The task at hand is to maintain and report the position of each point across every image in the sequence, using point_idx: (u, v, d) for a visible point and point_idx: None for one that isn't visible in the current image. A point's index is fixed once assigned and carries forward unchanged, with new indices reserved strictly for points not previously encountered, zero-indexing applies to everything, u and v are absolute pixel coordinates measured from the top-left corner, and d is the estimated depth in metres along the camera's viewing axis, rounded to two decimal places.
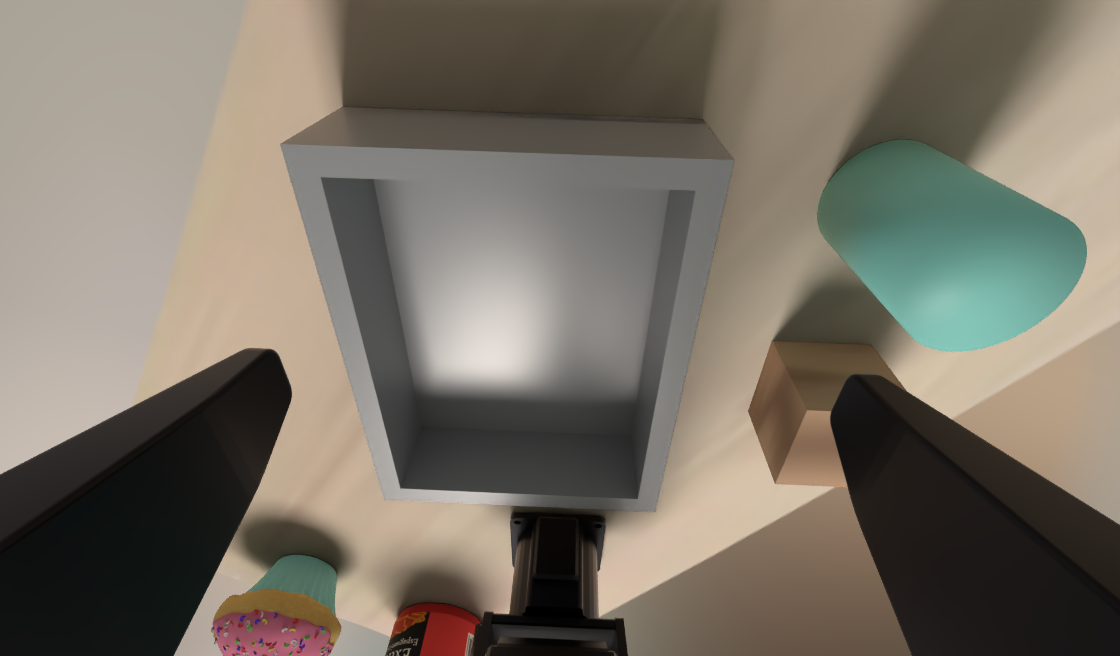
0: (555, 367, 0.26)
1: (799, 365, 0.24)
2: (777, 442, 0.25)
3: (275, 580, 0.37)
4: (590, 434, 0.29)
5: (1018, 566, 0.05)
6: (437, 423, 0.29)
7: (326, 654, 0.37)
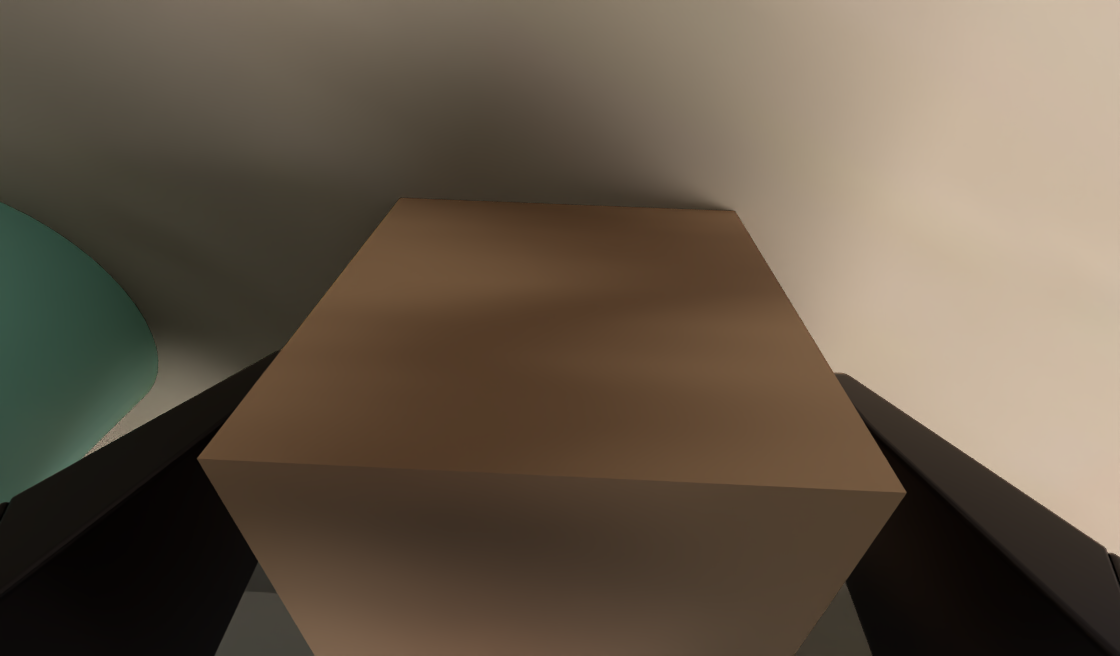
0: None
1: None
2: None
3: None
4: None
5: (966, 564, 0.05)
6: None
7: None
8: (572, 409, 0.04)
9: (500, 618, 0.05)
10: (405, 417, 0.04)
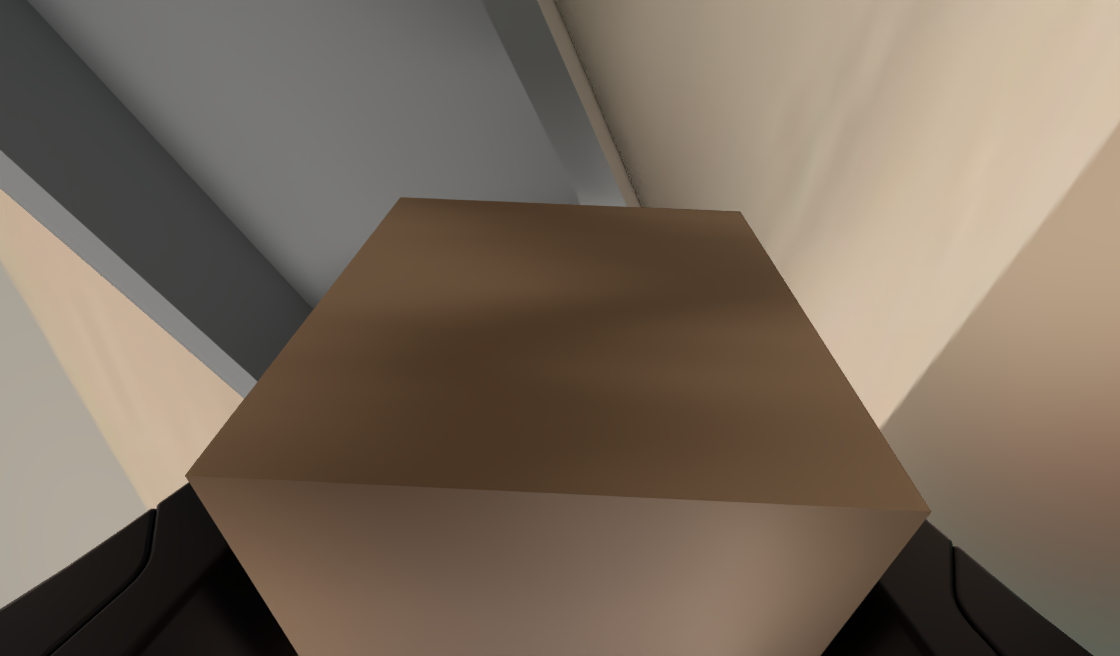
0: (453, 194, 0.17)
1: None
2: None
3: None
4: None
5: None
6: None
7: None
8: (579, 423, 0.04)
9: (503, 636, 0.05)
10: (405, 430, 0.04)
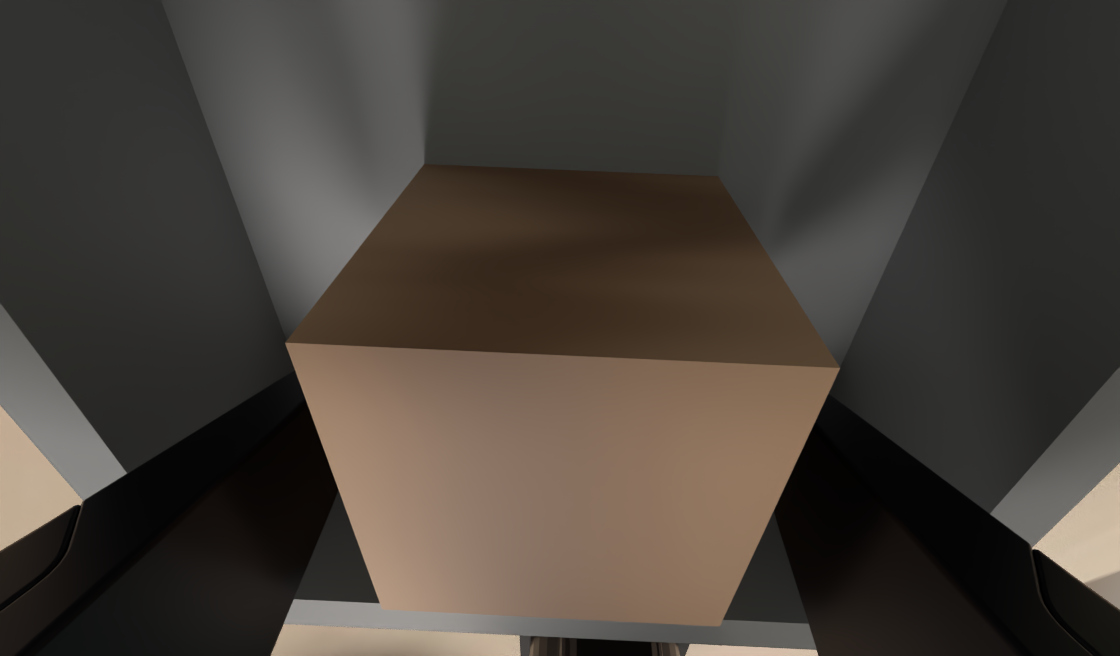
0: None
1: None
2: None
3: None
4: None
5: (896, 560, 0.05)
6: None
7: None
8: (578, 315, 0.05)
9: (518, 499, 0.06)
10: (445, 318, 0.05)
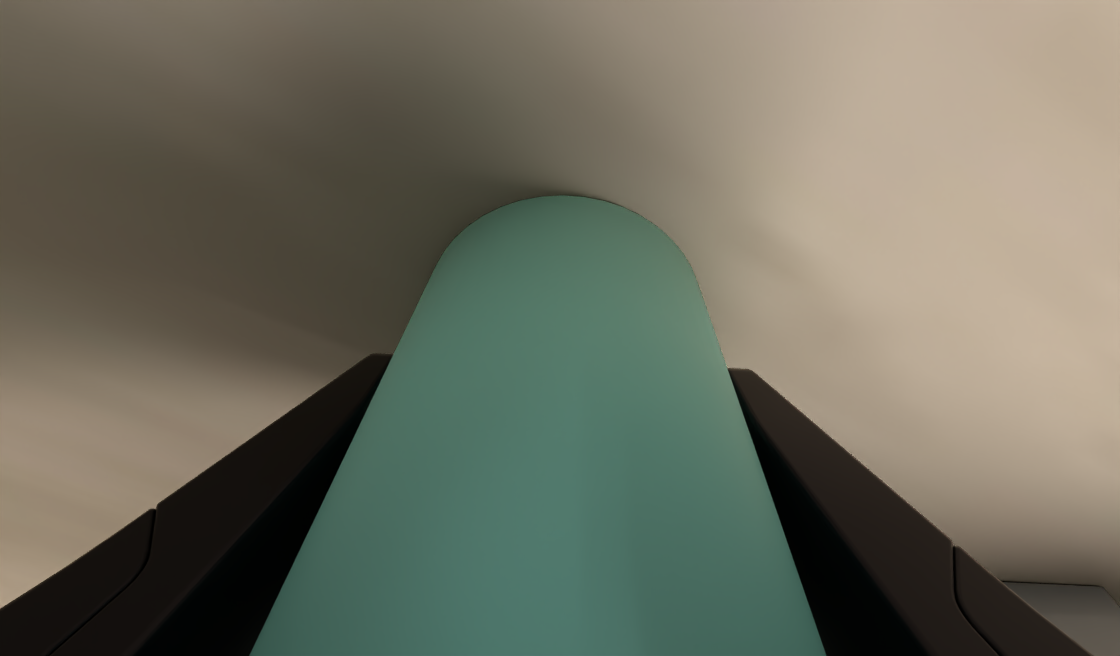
0: None
1: None
2: None
3: None
4: None
5: (822, 557, 0.05)
6: None
7: None
8: None
9: None
10: None
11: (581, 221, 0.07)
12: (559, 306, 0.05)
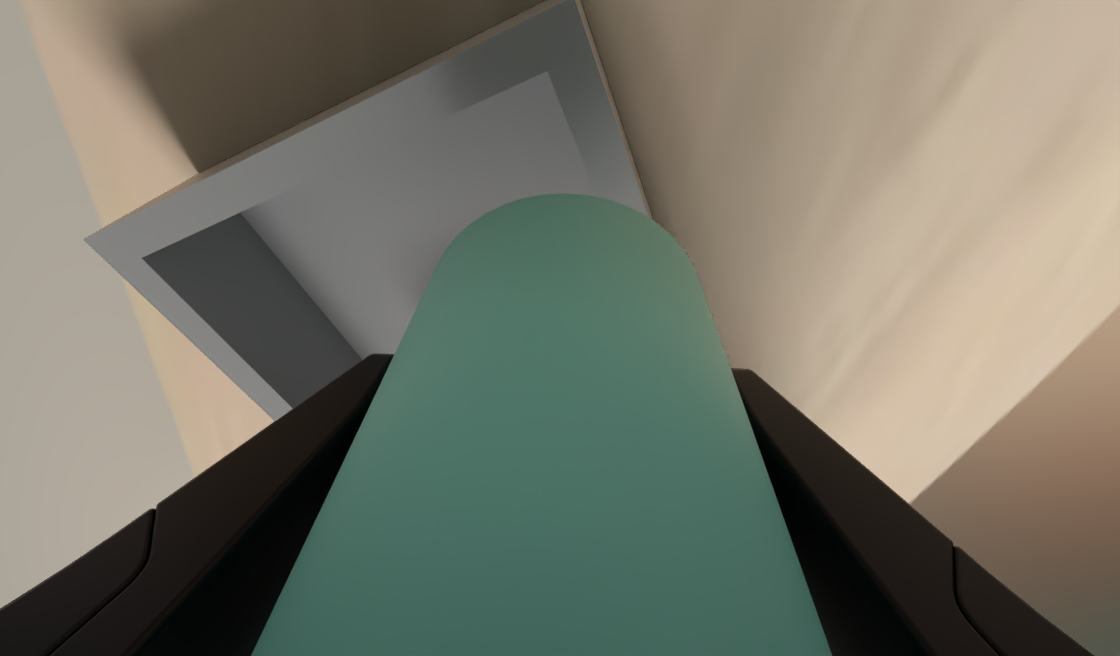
0: None
1: None
2: None
3: None
4: None
5: (822, 557, 0.05)
6: None
7: None
8: None
9: None
10: None
11: (584, 219, 0.07)
12: (562, 303, 0.05)
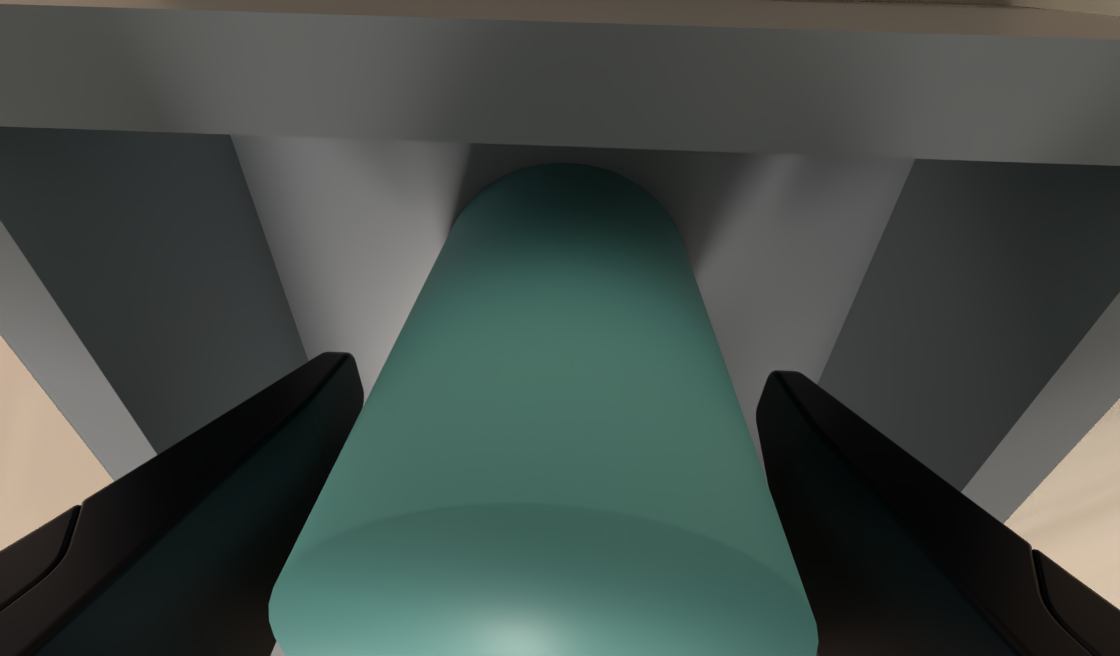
0: None
1: None
2: None
3: None
4: None
5: (896, 560, 0.05)
6: None
7: None
8: None
9: None
10: None
11: (580, 181, 0.08)
12: (561, 238, 0.07)
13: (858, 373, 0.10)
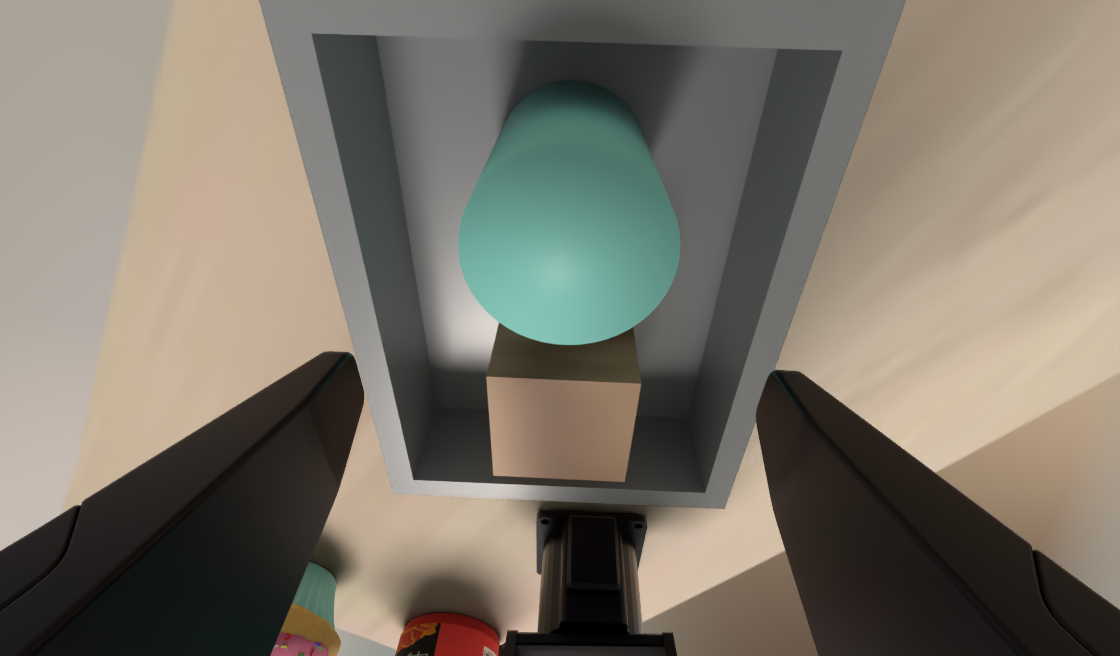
0: None
1: None
2: None
3: None
4: (638, 416, 0.24)
5: (896, 560, 0.05)
6: (455, 403, 0.24)
7: None
8: (569, 367, 0.17)
9: (549, 426, 0.18)
10: (529, 368, 0.17)
11: (582, 86, 0.15)
12: (574, 101, 0.13)
13: (749, 213, 0.17)
